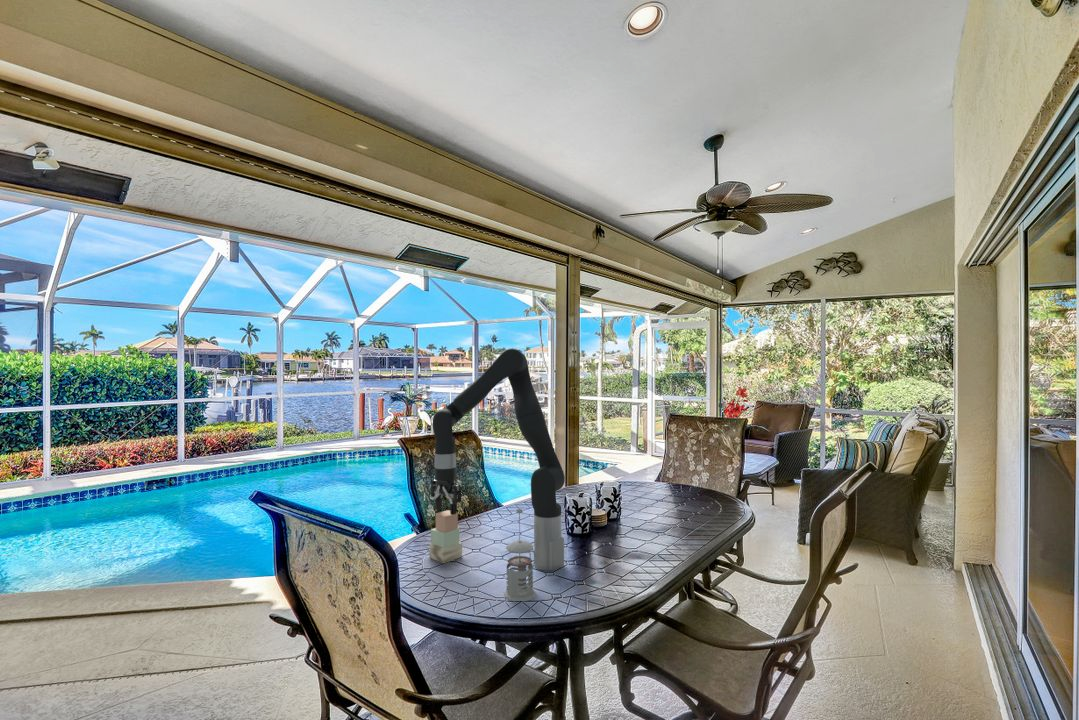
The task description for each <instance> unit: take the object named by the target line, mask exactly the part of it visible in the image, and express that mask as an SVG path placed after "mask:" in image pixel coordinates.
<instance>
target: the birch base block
mask: <svg viewBox="0 0 1079 720" xmlns="http://www.w3.org/2000/svg"><path fill="white" fill-rule="evenodd" d="M462 557H463V543H462V542H461V541H459V543H457V544H454V545H451V546H449V547H446V548H442V547H439V546H436V545H433V544H431V542H430V543H429V558H431V559H432V560H435V561H437V562H439V563H442V564H446V563H449V562H451V561H454V560H458V559H460V558H462Z"/></svg>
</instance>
